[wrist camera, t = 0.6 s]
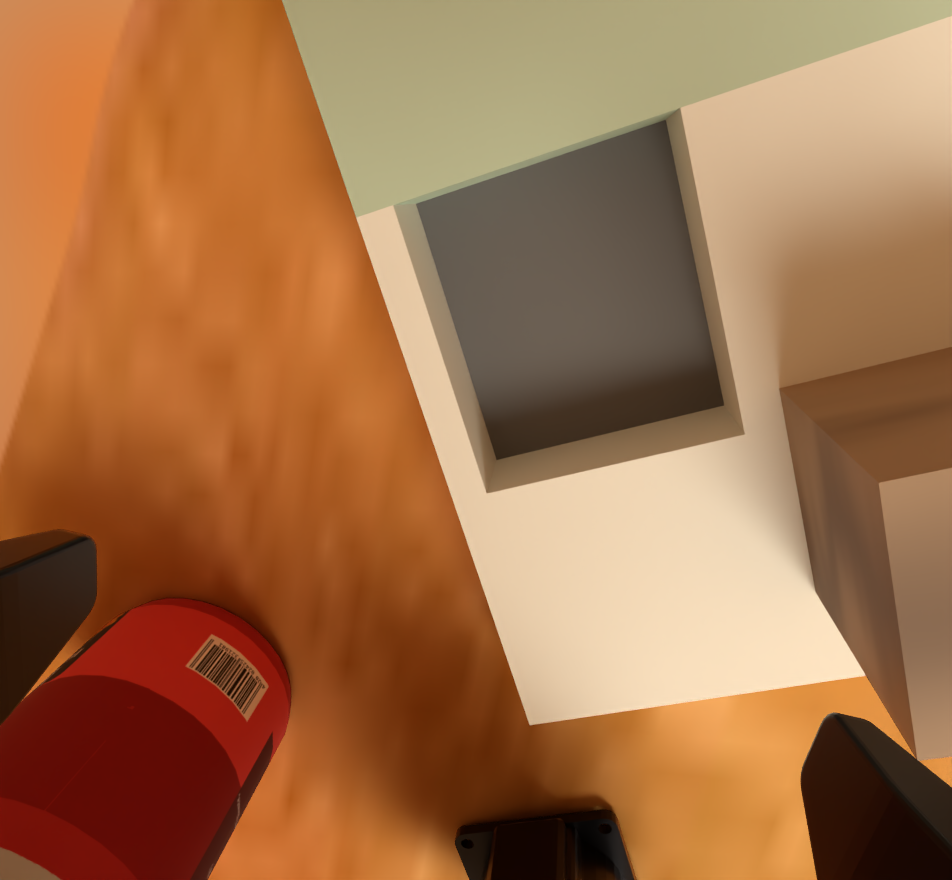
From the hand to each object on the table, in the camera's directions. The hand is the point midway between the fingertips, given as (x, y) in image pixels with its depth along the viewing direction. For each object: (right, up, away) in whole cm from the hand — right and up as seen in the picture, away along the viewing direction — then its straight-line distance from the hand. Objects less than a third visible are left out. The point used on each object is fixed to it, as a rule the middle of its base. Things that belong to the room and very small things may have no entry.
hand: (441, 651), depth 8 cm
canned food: (-10, -7, +19) cm, 22 cm away
